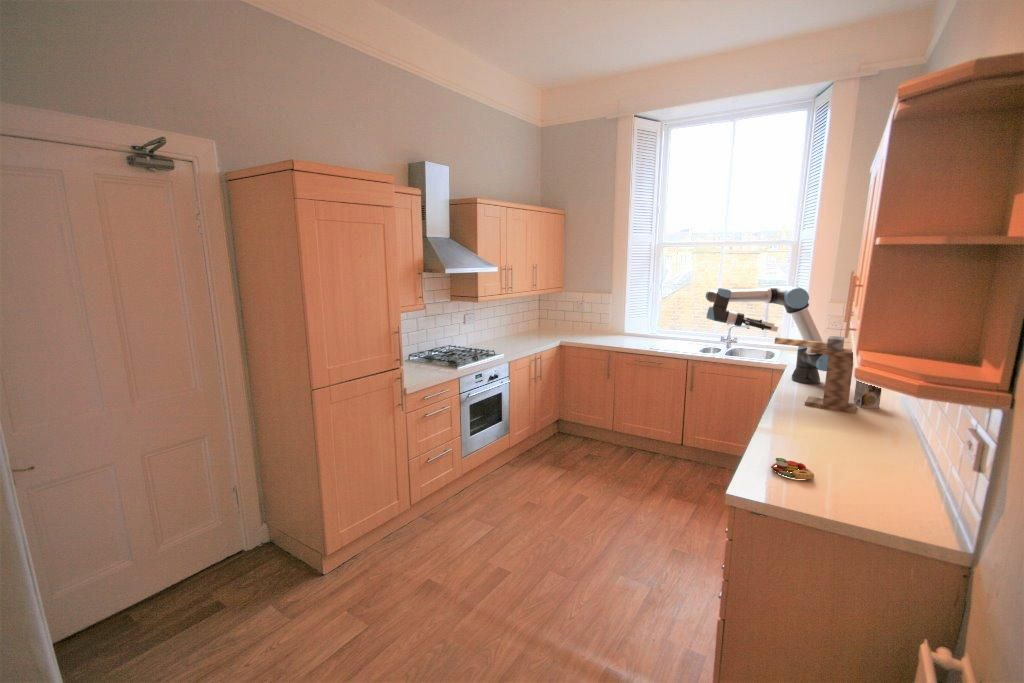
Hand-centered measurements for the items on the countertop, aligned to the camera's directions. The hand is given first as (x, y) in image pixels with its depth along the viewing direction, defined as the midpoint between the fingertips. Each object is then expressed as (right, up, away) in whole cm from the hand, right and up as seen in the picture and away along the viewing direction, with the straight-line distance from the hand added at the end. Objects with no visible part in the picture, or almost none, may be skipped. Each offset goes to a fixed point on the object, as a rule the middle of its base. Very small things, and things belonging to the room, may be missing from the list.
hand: (775, 327), depth 259 cm
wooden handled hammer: (+6, -10, -18) cm, 22 cm away
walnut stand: (+16, -41, -21) cm, 49 cm away
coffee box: (+35, -41, -20) cm, 58 cm away
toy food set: (-48, -56, -93) cm, 118 cm away
